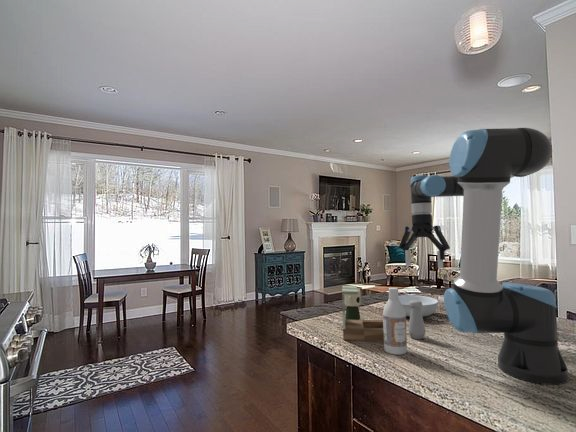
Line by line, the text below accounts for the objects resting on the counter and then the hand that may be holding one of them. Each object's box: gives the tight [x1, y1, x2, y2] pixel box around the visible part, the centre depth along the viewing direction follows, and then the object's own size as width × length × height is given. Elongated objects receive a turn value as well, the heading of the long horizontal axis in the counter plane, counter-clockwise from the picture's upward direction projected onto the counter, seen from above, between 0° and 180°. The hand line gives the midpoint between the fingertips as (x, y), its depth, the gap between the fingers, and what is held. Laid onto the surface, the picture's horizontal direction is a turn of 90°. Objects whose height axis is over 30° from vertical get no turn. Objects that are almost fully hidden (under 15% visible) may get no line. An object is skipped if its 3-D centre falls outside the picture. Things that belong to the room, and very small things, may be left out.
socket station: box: [341, 285, 384, 343], centre depth 119 cm, size 12×17×17 cm
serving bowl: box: [387, 294, 439, 318], centre depth 145 cm, size 21×21×7 cm
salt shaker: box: [407, 300, 426, 340], centre depth 116 cm, size 6×6×13 cm
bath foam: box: [382, 287, 408, 356], centre depth 104 cm, size 7×7×20 cm
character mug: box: [345, 288, 362, 320], centre depth 138 cm, size 11×7×13 cm, turn 158°
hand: (423, 267), depth 129 cm, fingers open, 13 cm apart
